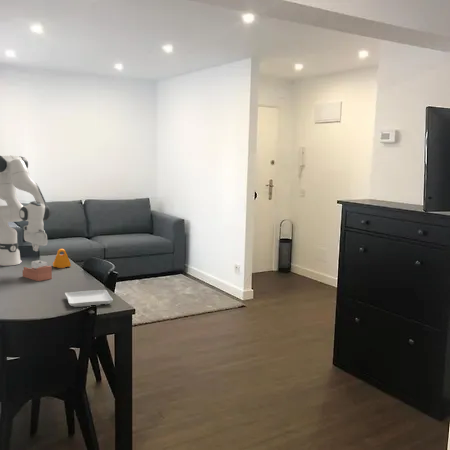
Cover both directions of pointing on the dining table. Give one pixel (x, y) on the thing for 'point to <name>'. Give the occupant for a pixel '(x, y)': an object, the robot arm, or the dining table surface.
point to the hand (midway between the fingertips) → (35, 250)
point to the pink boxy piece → (38, 273)
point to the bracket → (61, 260)
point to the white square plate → (88, 298)
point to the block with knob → (38, 264)
